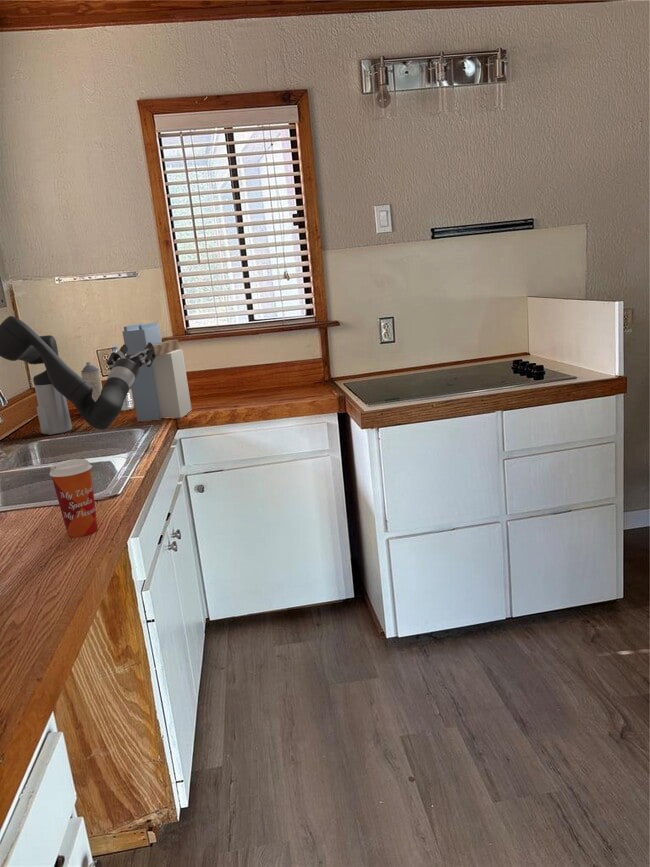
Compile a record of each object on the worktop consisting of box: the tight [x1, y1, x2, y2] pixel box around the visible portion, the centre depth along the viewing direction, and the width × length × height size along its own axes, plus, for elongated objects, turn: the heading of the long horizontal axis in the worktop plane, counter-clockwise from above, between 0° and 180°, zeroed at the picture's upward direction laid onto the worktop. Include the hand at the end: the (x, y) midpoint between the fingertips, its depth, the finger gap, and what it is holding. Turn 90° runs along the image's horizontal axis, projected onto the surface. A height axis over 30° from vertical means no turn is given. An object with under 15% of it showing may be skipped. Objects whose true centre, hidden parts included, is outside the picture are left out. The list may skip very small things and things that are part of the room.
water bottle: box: [107, 346, 135, 412], centre depth 250 cm, size 7×7×25 cm
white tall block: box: [152, 348, 193, 419], centre depth 229 cm, size 11×8×23 cm
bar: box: [144, 339, 180, 357], centre depth 223 cm, size 21×4×4 cm, turn 171°
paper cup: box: [49, 458, 99, 538], centre depth 124 cm, size 8×8×14 cm
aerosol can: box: [80, 361, 103, 402], centre depth 251 cm, size 7×7×20 cm
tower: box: [122, 321, 163, 422], centre depth 228 cm, size 13×8×34 cm, turn 171°
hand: (138, 345), depth 205 cm, fingers open, 8 cm apart
